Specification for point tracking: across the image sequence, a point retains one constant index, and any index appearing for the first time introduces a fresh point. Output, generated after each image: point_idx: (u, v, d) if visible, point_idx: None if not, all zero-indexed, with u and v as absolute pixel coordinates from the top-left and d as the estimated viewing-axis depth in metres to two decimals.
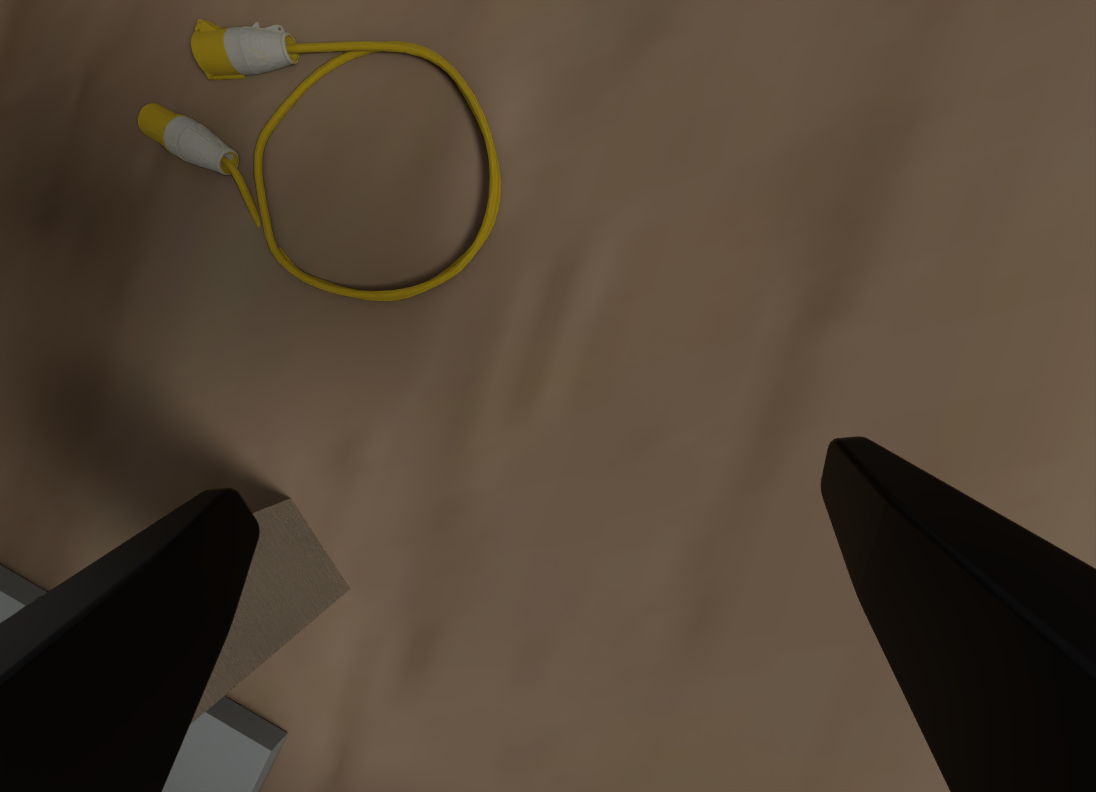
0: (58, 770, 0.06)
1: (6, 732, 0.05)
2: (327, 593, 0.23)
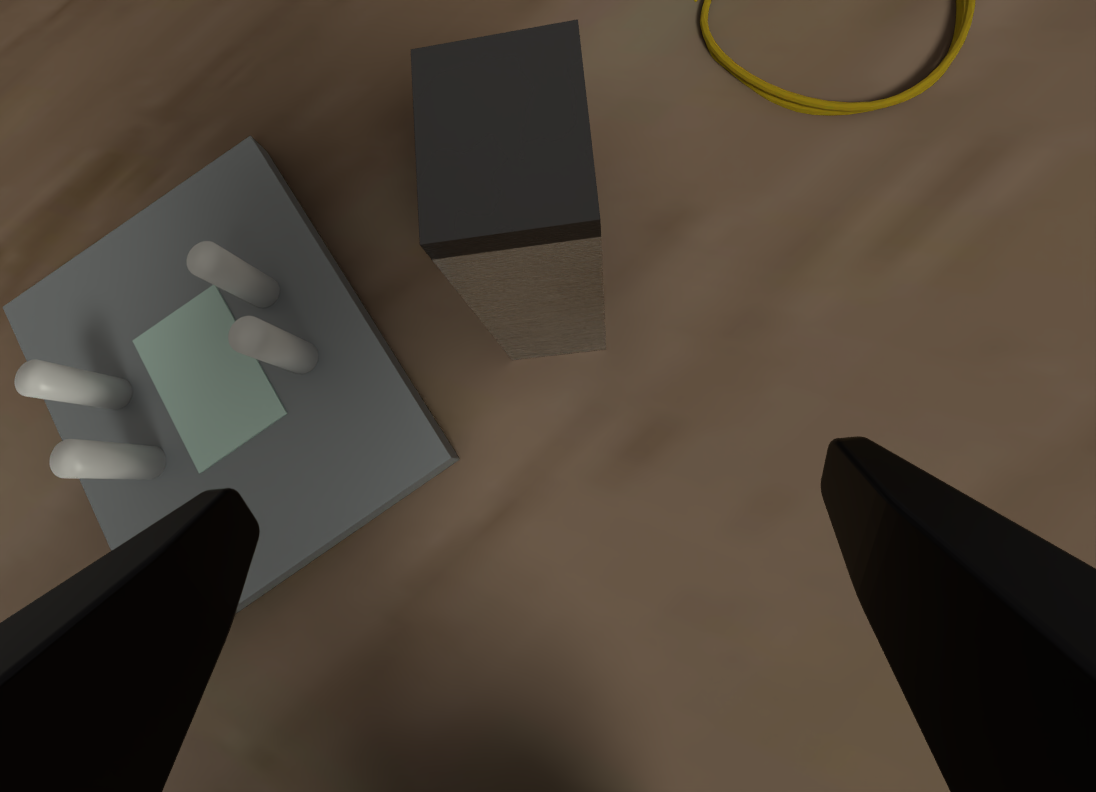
0: (58, 770, 0.06)
1: (6, 732, 0.05)
2: None
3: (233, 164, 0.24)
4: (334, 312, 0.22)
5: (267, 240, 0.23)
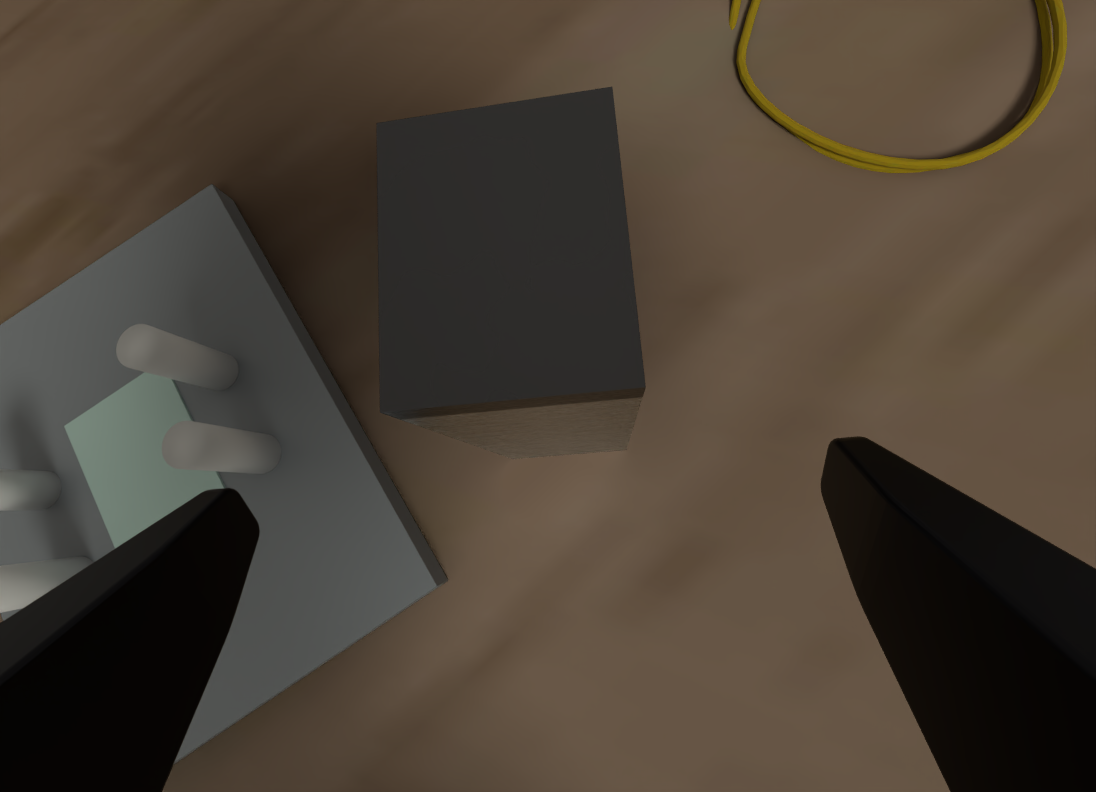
0: (58, 770, 0.06)
1: (6, 732, 0.05)
2: None
3: (191, 217, 0.21)
4: (302, 399, 0.19)
5: (226, 309, 0.20)
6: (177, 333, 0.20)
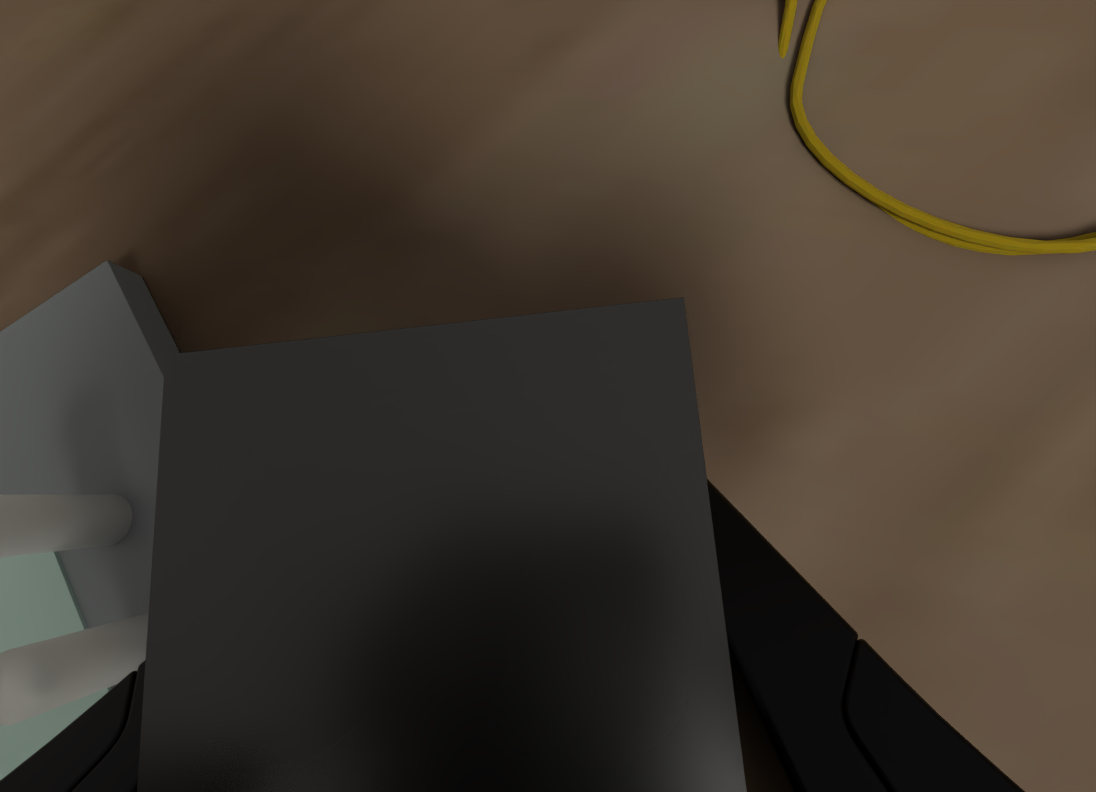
0: None
1: None
2: None
3: (78, 305, 0.16)
4: None
5: (119, 432, 0.15)
6: (55, 463, 0.15)
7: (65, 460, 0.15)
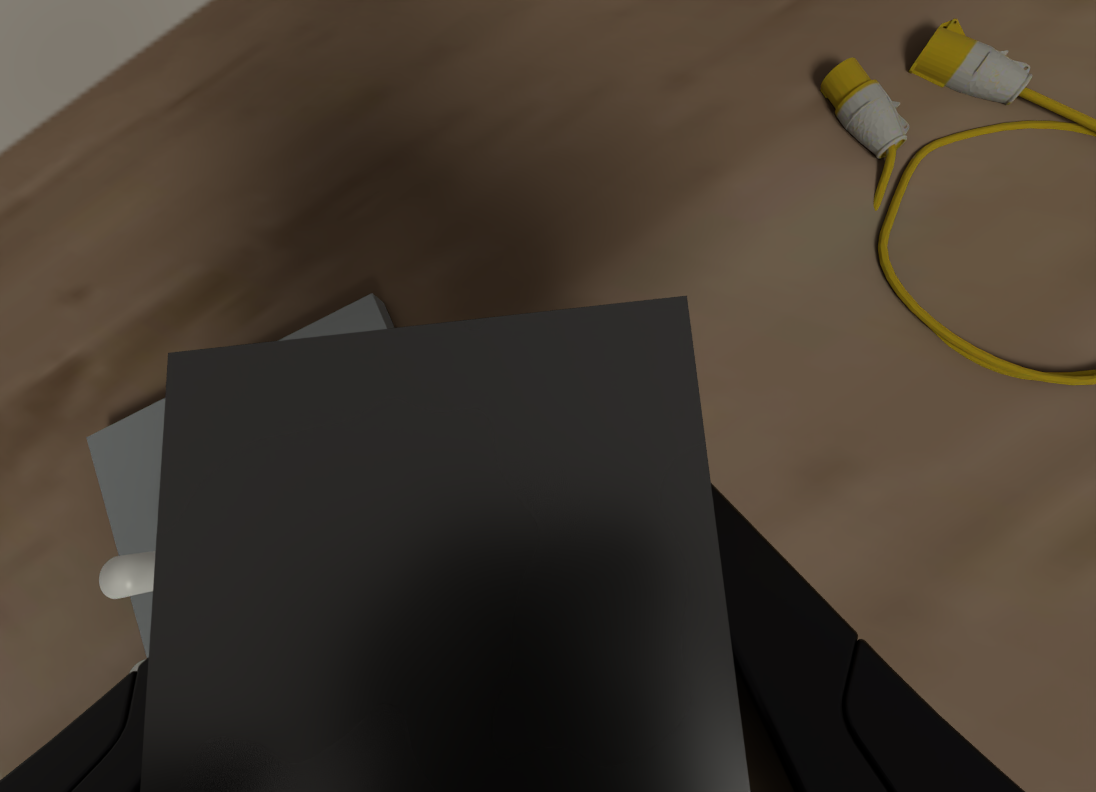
0: None
1: None
2: None
3: (350, 323, 0.22)
4: None
5: None
6: None
7: None
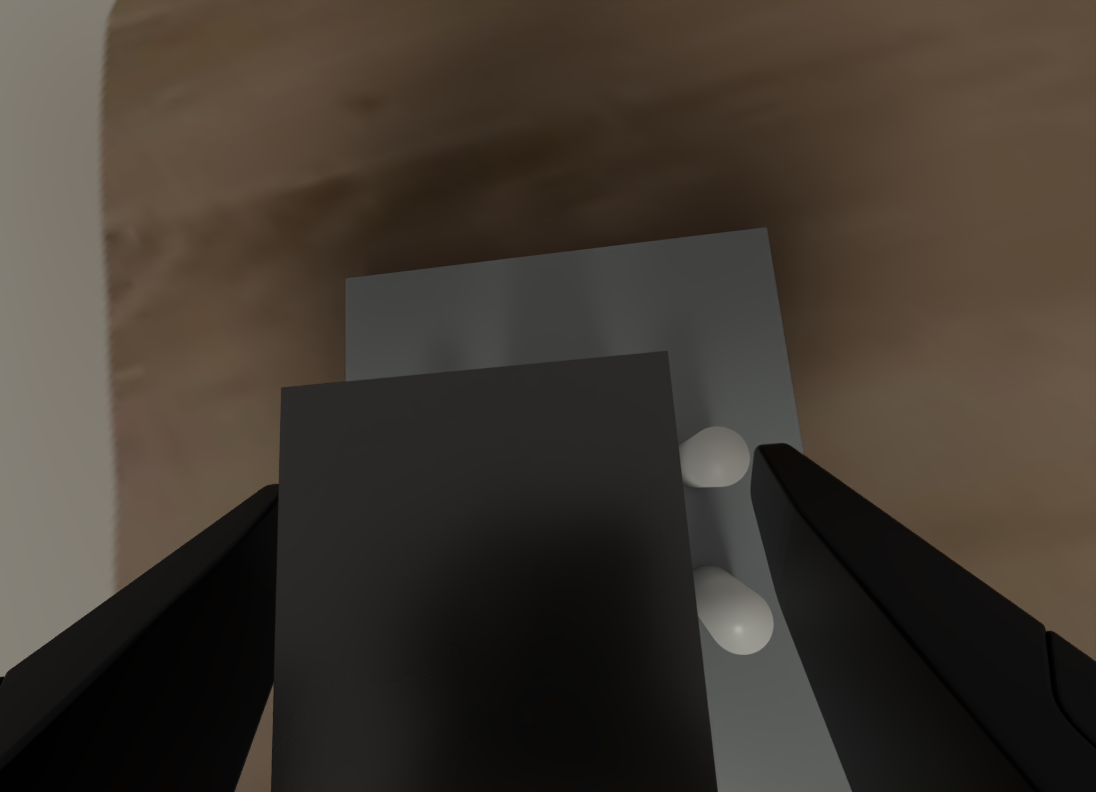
0: (145, 768, 0.05)
1: (100, 729, 0.05)
2: None
3: (725, 255, 0.17)
4: None
5: (729, 391, 0.16)
6: None
7: None
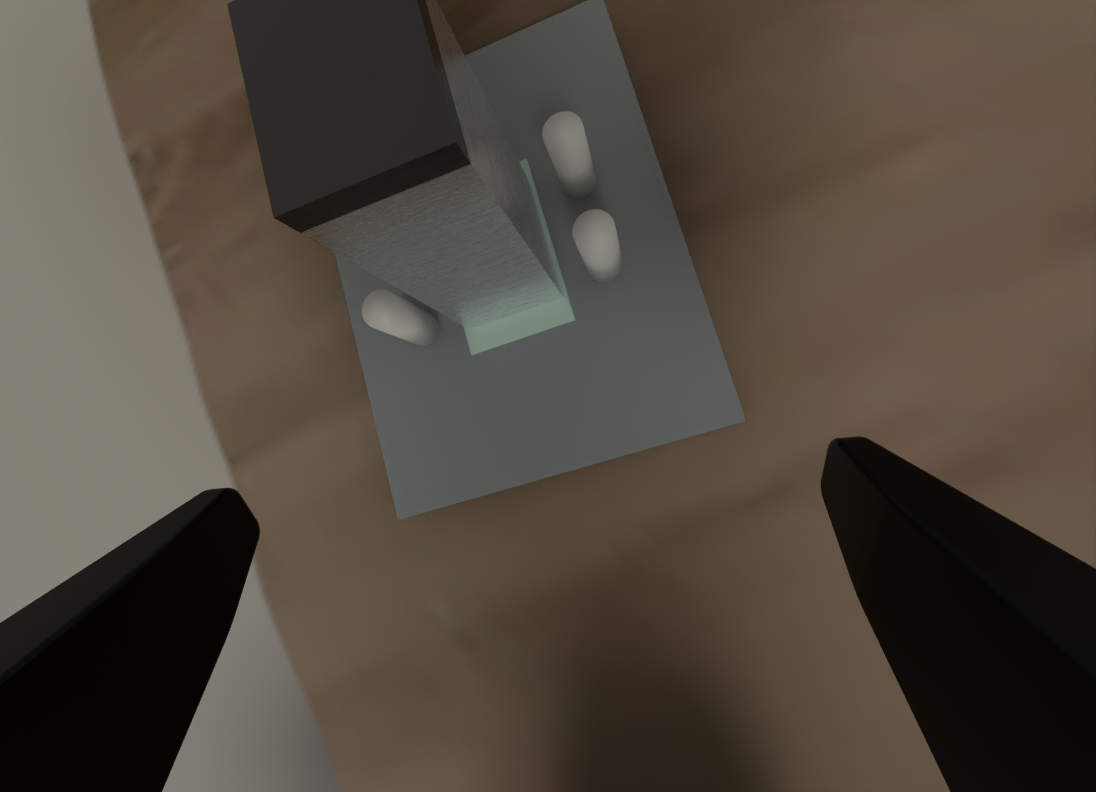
0: (58, 770, 0.06)
1: (6, 732, 0.05)
2: (552, 274, 0.19)
3: (574, 24, 0.21)
4: (652, 224, 0.20)
5: (594, 123, 0.21)
6: None
7: None
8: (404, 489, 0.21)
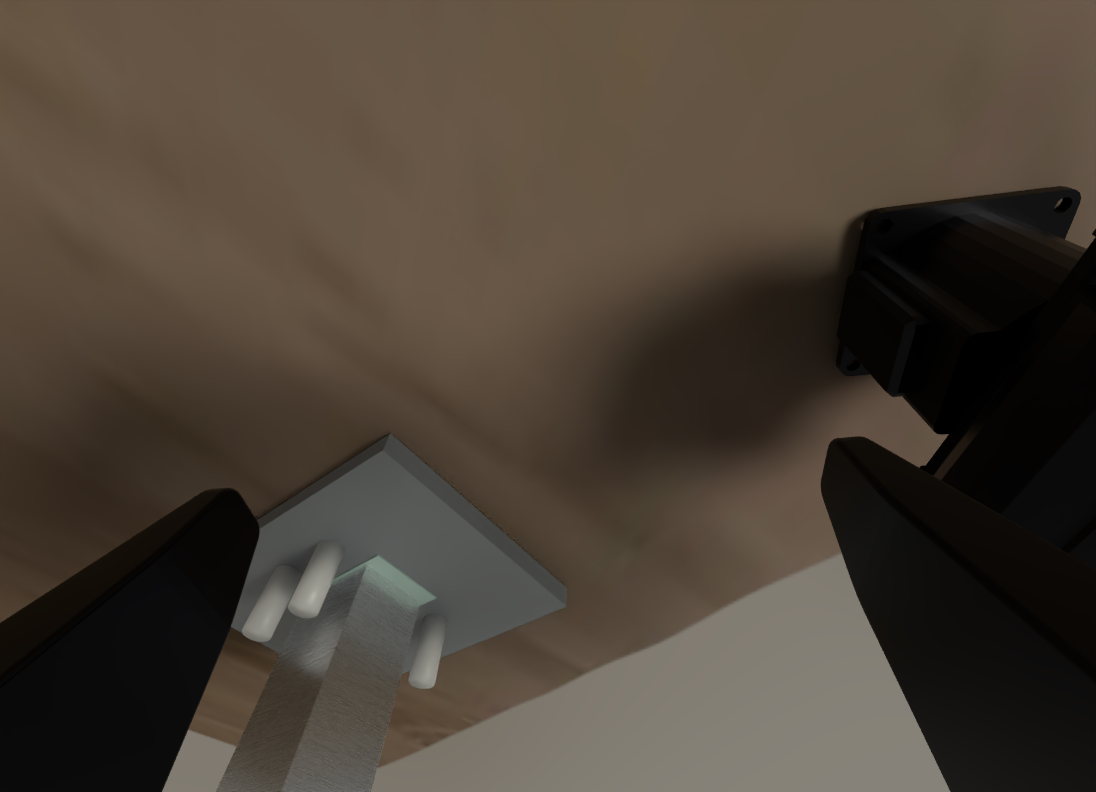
0: (58, 770, 0.06)
1: (6, 732, 0.05)
2: (351, 592, 0.27)
3: None
4: (286, 532, 0.27)
5: None
6: None
7: None
8: (544, 608, 0.30)
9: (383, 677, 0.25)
